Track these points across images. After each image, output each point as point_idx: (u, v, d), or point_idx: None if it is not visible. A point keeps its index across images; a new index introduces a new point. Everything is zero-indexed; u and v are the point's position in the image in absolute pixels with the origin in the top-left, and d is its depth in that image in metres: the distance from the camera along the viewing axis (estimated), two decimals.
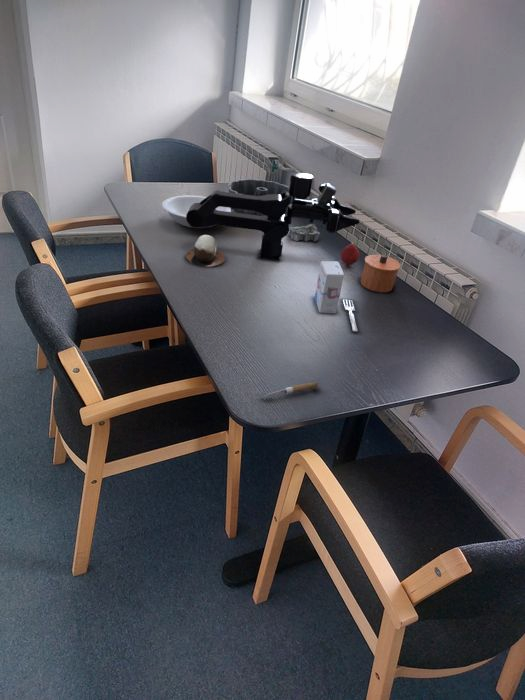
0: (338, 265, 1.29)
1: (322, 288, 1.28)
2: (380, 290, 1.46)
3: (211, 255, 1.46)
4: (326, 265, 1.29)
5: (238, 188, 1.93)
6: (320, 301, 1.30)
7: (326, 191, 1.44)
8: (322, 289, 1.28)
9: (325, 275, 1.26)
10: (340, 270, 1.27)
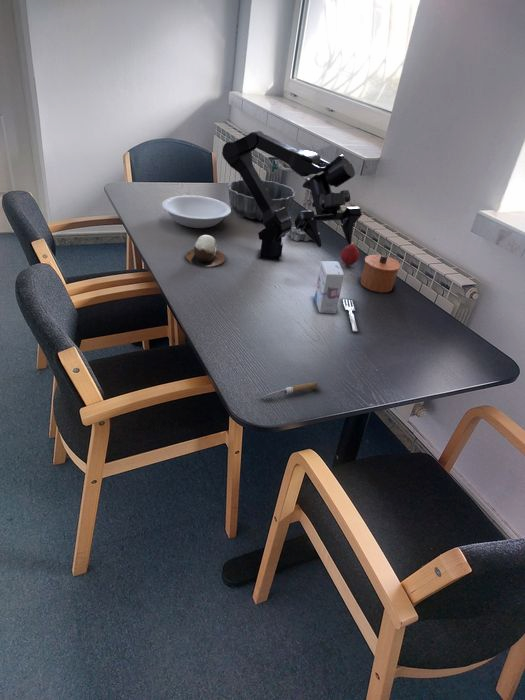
0: (338, 265, 1.29)
1: (322, 288, 1.28)
2: (380, 290, 1.46)
3: (211, 255, 1.46)
4: (326, 265, 1.29)
5: (238, 188, 1.93)
6: (320, 301, 1.30)
7: (327, 196, 1.30)
8: (322, 289, 1.28)
9: (325, 275, 1.26)
10: (340, 270, 1.27)
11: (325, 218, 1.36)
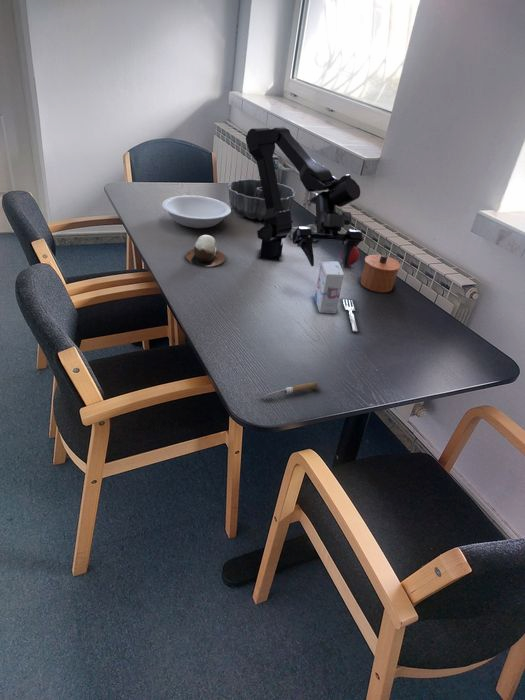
0: (338, 265, 1.29)
1: (322, 288, 1.28)
2: (380, 290, 1.46)
3: (211, 255, 1.46)
4: (326, 265, 1.29)
5: (238, 188, 1.93)
6: (320, 301, 1.30)
7: (326, 215, 1.26)
8: (322, 289, 1.28)
9: (325, 275, 1.26)
10: (340, 270, 1.27)
11: (324, 237, 1.32)
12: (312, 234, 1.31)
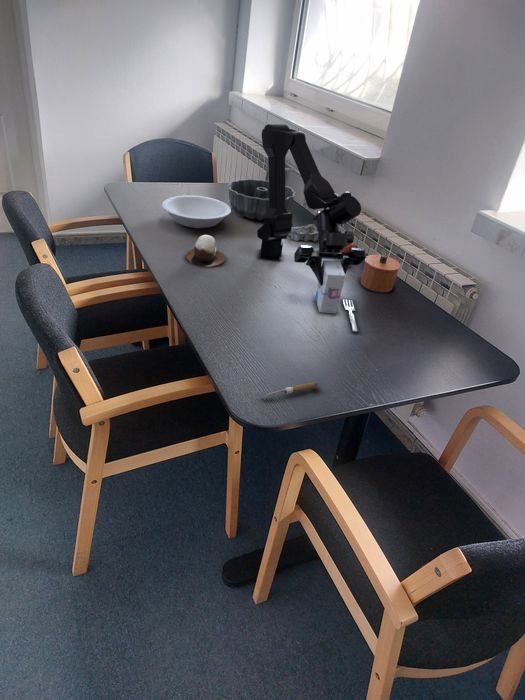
0: (340, 265, 1.29)
1: (323, 288, 1.28)
2: (380, 290, 1.46)
3: (211, 255, 1.46)
4: (328, 265, 1.28)
5: (238, 188, 1.93)
6: (320, 301, 1.30)
7: (329, 234, 1.24)
8: (323, 289, 1.28)
9: (326, 275, 1.25)
10: (341, 271, 1.27)
11: (326, 256, 1.30)
12: None
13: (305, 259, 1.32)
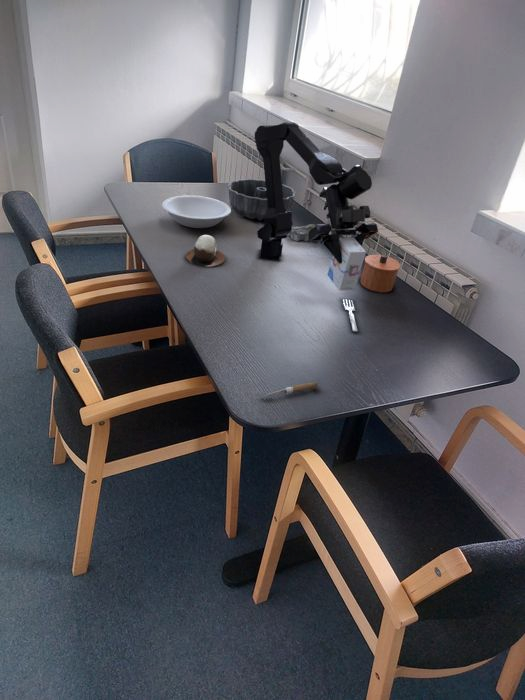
0: (356, 241, 1.28)
1: (343, 266, 1.27)
2: (380, 290, 1.46)
3: (211, 255, 1.46)
4: (345, 242, 1.27)
5: (238, 188, 1.93)
6: (340, 279, 1.29)
7: (347, 211, 1.22)
8: (343, 267, 1.27)
9: (347, 253, 1.24)
10: (360, 247, 1.26)
11: (340, 232, 1.29)
12: None
13: (319, 237, 1.29)
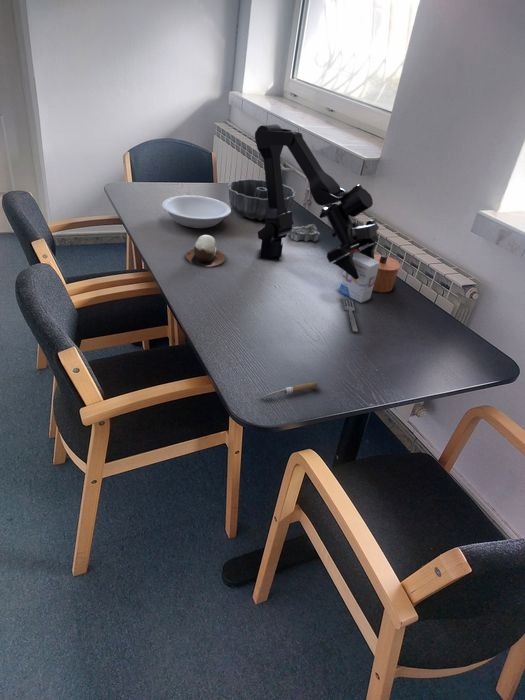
0: (363, 255, 1.37)
1: (362, 280, 1.35)
2: (380, 290, 1.46)
3: (211, 255, 1.46)
4: (357, 259, 1.35)
5: (238, 188, 1.93)
6: (360, 292, 1.37)
7: (363, 229, 1.30)
8: (363, 281, 1.35)
9: (367, 268, 1.33)
10: (372, 259, 1.36)
11: (352, 248, 1.36)
12: None
13: None
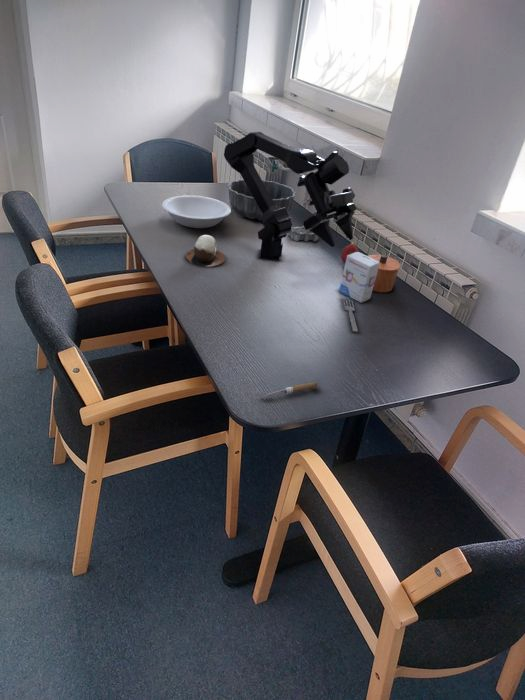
0: (363, 255, 1.37)
1: (362, 280, 1.35)
2: (380, 290, 1.46)
3: (211, 255, 1.46)
4: (357, 258, 1.35)
5: (238, 188, 1.93)
6: (360, 292, 1.37)
7: (339, 196, 1.31)
8: (363, 281, 1.35)
9: (367, 268, 1.33)
10: (372, 259, 1.36)
11: (329, 217, 1.37)
12: None
13: None
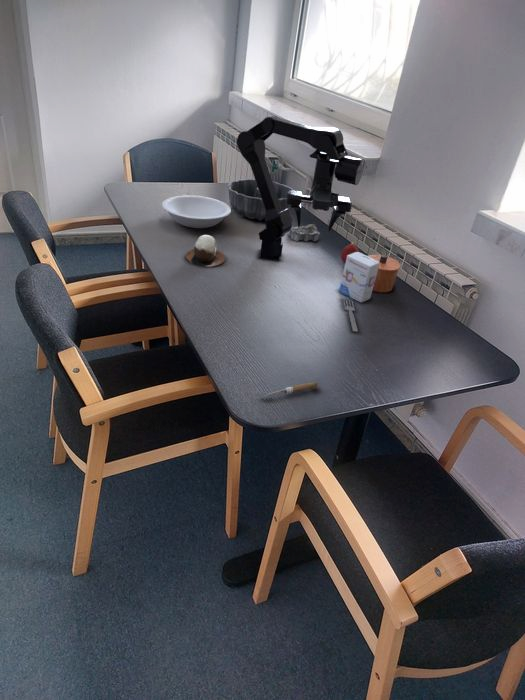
0: (363, 255, 1.37)
1: (362, 280, 1.35)
2: (380, 290, 1.46)
3: (211, 255, 1.46)
4: (357, 258, 1.35)
5: (238, 188, 1.93)
6: (360, 292, 1.37)
7: (314, 198, 1.34)
8: (363, 281, 1.35)
9: (367, 268, 1.33)
10: (372, 259, 1.36)
11: None
12: None
13: None
